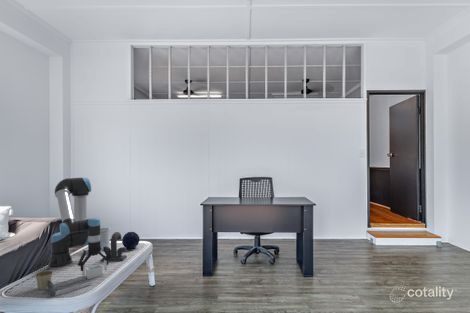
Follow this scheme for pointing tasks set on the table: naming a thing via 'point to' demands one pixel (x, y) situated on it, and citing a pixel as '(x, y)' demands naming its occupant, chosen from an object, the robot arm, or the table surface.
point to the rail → (52, 286)
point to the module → (94, 271)
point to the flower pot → (43, 279)
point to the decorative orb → (130, 240)
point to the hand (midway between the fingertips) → (94, 273)
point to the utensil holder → (104, 237)
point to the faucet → (115, 249)
